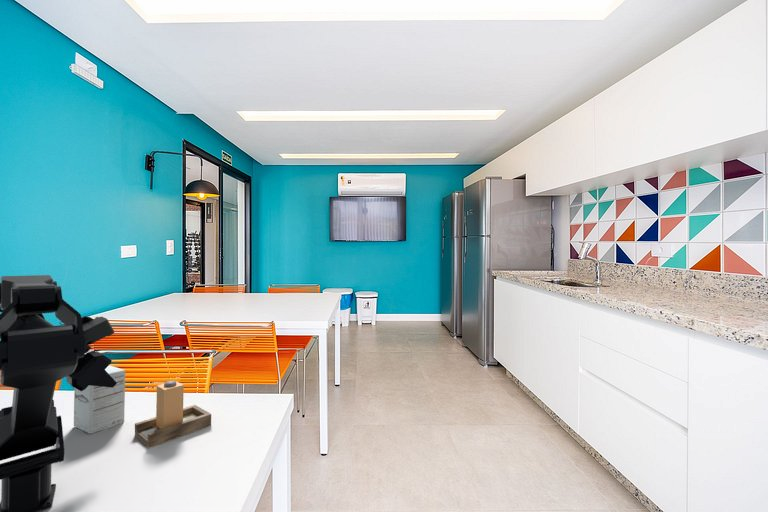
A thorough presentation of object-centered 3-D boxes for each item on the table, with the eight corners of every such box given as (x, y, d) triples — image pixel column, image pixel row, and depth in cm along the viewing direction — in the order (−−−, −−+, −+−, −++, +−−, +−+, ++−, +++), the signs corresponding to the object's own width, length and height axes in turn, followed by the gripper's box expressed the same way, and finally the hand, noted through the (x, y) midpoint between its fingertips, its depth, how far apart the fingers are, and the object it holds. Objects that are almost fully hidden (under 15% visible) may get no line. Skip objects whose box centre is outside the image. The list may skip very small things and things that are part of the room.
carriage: (163, 431, 79) (164, 387, 79) (156, 425, 82) (156, 382, 82) (182, 424, 83) (183, 382, 83) (175, 419, 85) (175, 378, 85)
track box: (149, 448, 75) (149, 435, 75) (134, 435, 80) (134, 423, 80) (211, 425, 86) (211, 414, 86) (194, 415, 91) (194, 404, 91)
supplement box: (72, 427, 84) (73, 372, 83) (109, 414, 90) (109, 363, 90) (88, 435, 80) (89, 378, 80) (125, 421, 87) (126, 368, 87)
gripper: (98, 310, 64) (165, 359, 73) (69, 300, 75) (130, 343, 84) (36, 366, 58) (117, 412, 66) (14, 345, 69) (86, 387, 78)
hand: (114, 385), depth 74 cm, fingers closed
